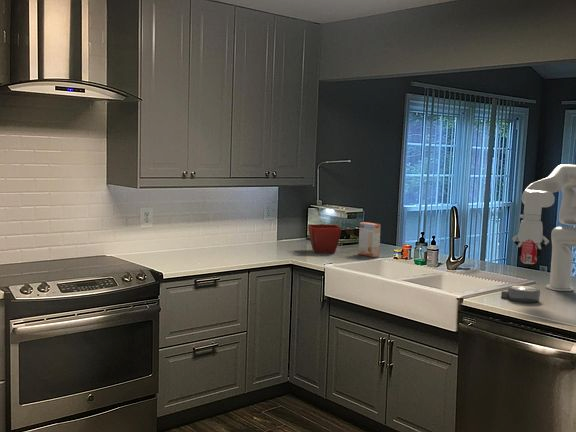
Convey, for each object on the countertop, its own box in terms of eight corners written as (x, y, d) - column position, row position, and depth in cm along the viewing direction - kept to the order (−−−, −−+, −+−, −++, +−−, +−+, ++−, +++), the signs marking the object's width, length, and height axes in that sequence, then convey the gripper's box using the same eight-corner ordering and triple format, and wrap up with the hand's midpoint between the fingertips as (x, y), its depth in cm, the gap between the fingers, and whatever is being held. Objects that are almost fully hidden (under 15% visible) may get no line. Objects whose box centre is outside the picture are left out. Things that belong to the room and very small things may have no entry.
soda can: (532, 262, 297) (534, 236, 296) (539, 264, 290) (541, 238, 289) (517, 261, 297) (519, 236, 296) (524, 264, 290) (526, 238, 289)
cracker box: (379, 257, 402) (381, 224, 400) (372, 257, 399) (374, 224, 396) (365, 253, 414) (366, 221, 411) (357, 254, 410) (359, 222, 408)
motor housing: (504, 294, 305) (505, 283, 304) (541, 299, 297) (542, 287, 296) (499, 299, 292) (499, 288, 292) (537, 305, 285) (538, 293, 284)
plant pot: (307, 249, 425) (307, 224, 423) (335, 249, 427) (336, 224, 425) (311, 253, 406) (312, 227, 404) (340, 254, 408) (341, 228, 407)
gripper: (510, 217, 292) (507, 255, 294) (551, 220, 284) (548, 259, 286) (513, 216, 299) (510, 253, 300) (553, 219, 291) (550, 257, 292)
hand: (529, 256), depth 293 cm, fingers closed on soda can, 7 cm apart
